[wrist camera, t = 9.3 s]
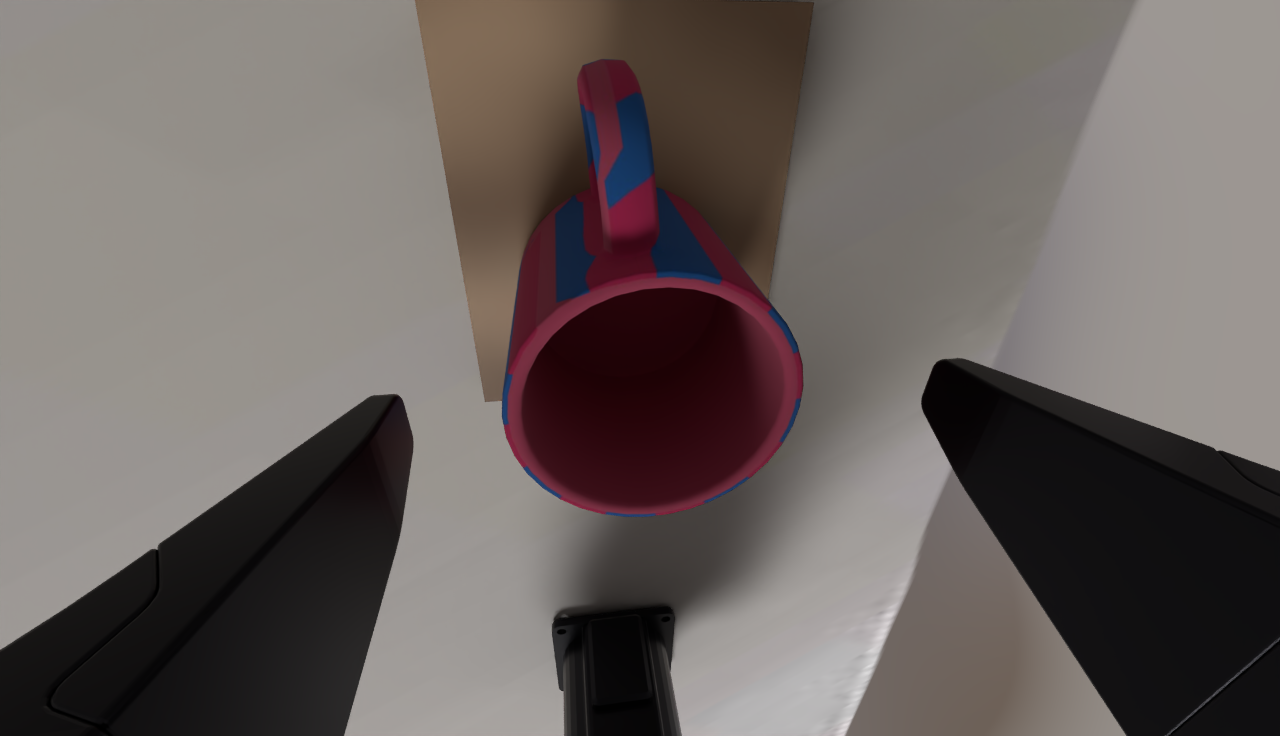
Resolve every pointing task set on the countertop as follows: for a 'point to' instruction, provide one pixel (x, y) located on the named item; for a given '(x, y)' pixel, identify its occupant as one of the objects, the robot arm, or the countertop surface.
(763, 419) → the mug
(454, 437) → the countertop surface
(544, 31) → the coaster board
